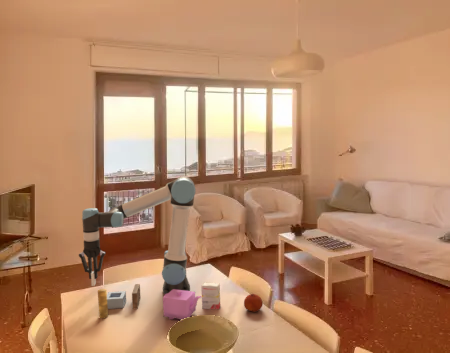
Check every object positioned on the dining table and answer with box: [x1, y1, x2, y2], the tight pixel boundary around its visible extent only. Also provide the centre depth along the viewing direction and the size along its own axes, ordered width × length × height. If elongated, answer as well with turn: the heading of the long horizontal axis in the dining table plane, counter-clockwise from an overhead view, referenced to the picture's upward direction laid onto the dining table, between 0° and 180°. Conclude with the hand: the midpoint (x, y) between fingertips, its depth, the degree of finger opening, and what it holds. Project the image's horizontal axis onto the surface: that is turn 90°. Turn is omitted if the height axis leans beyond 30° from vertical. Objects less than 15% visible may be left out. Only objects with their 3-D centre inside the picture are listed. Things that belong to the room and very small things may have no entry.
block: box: [107, 290, 127, 310], centre depth 190 cm, size 9×9×5 cm
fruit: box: [243, 293, 264, 313], centre depth 180 cm, size 9×9×8 cm
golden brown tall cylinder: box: [97, 288, 109, 319], centre depth 177 cm, size 4×4×13 cm
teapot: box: [162, 289, 202, 321], centre depth 175 cm, size 20×10×12 cm, turn 71°
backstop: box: [131, 283, 141, 310], centre depth 191 cm, size 2×12×8 cm, turn 6°
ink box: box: [200, 281, 221, 310], centre depth 184 cm, size 9×5×12 cm, turn 79°
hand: (93, 284), depth 188 cm, fingers closed
